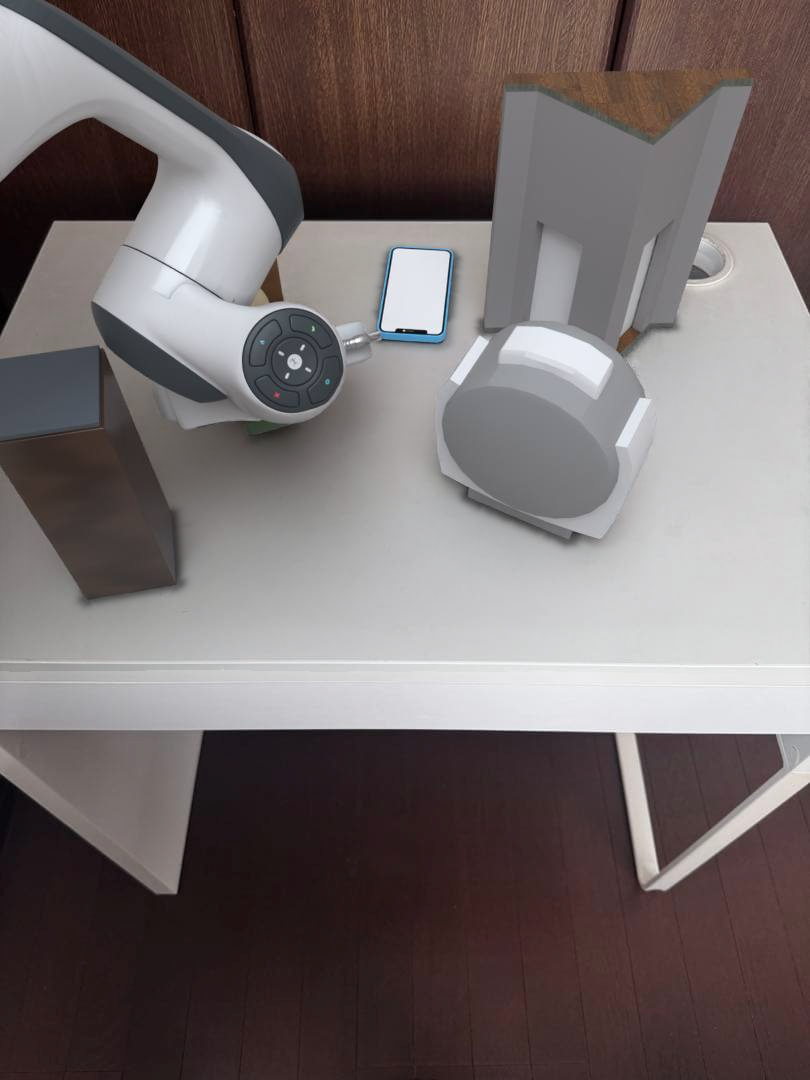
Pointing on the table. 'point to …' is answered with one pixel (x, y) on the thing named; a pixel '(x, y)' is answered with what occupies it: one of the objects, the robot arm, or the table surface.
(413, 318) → the smartphone
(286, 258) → the table surface
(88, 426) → the mat
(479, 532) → the table surface
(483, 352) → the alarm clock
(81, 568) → the pedestal
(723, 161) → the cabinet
